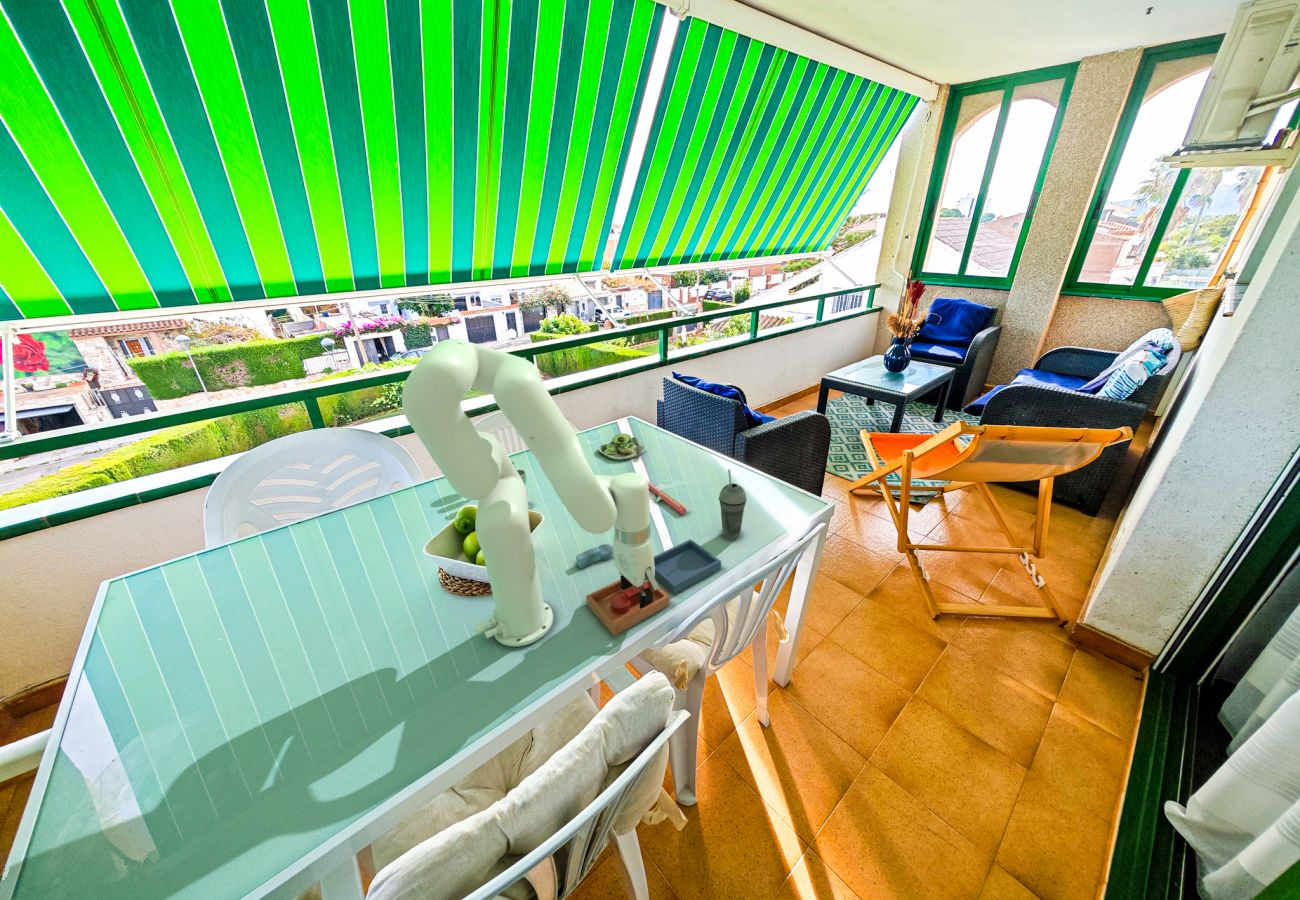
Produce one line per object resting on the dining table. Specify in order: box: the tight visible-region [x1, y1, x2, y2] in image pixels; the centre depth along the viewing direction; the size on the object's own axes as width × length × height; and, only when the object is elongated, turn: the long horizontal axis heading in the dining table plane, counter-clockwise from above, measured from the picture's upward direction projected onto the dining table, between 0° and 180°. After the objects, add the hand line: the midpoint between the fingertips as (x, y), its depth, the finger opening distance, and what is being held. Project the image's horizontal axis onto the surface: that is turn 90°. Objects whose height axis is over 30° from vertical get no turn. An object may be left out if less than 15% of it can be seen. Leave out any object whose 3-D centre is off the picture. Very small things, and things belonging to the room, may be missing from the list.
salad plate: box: [597, 433, 646, 461], centre depth 177 cm, size 19×18×5 cm
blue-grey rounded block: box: [575, 543, 614, 569], centre depth 118 cm, size 10×4×3 cm, turn 126°
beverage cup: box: [718, 468, 748, 541], centre depth 121 cm, size 7×7×20 cm
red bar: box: [648, 481, 688, 516], centre depth 145 cm, size 24×2×5 cm
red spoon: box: [610, 582, 648, 614], centre depth 102 cm, size 10×4×3 cm, turn 126°
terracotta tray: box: [585, 577, 670, 637], centre depth 102 cm, size 15×12×2 cm
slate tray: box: [653, 539, 722, 595], centre depth 113 cm, size 15×12×2 cm
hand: (636, 595), depth 103 cm, fingers open, 6 cm apart
